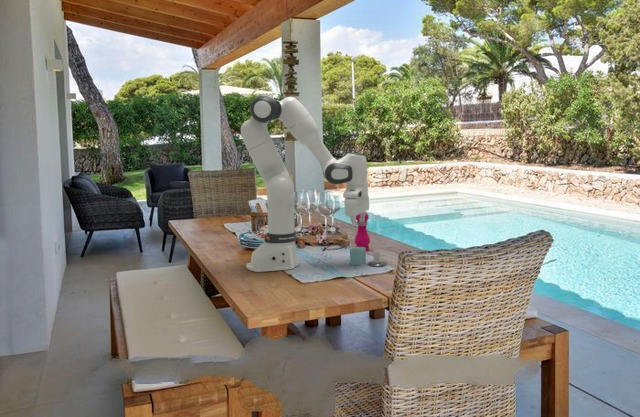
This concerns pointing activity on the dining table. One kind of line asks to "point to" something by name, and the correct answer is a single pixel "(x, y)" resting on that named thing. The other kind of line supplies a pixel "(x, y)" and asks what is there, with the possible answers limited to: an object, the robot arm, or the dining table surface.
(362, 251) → the teal rectangular block
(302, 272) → the dining table surface
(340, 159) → the robot arm
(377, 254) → the grey round stand
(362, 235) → the pepper mill
